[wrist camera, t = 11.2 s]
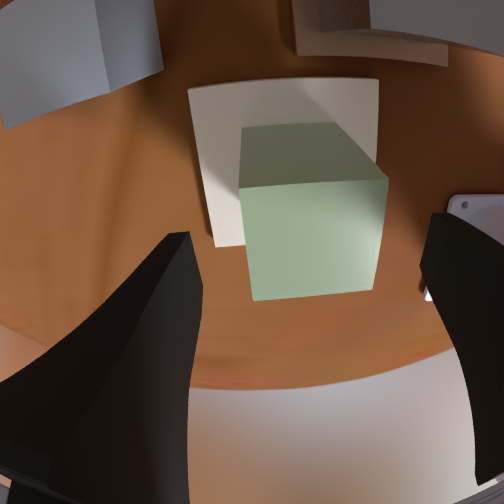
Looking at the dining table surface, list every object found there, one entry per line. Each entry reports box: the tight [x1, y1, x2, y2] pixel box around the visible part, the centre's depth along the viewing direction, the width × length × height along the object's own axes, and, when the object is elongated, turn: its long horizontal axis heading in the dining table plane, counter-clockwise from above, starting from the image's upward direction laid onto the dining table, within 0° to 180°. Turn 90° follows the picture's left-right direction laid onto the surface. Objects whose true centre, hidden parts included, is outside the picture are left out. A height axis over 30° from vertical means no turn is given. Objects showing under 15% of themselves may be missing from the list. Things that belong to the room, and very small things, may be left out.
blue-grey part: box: [0, 0, 164, 131], centre depth 8 cm, size 4×4×6 cm
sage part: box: [238, 122, 389, 301], centre depth 12 cm, size 4×4×6 cm
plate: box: [188, 77, 379, 247], centre depth 14 cm, size 8×8×1 cm
